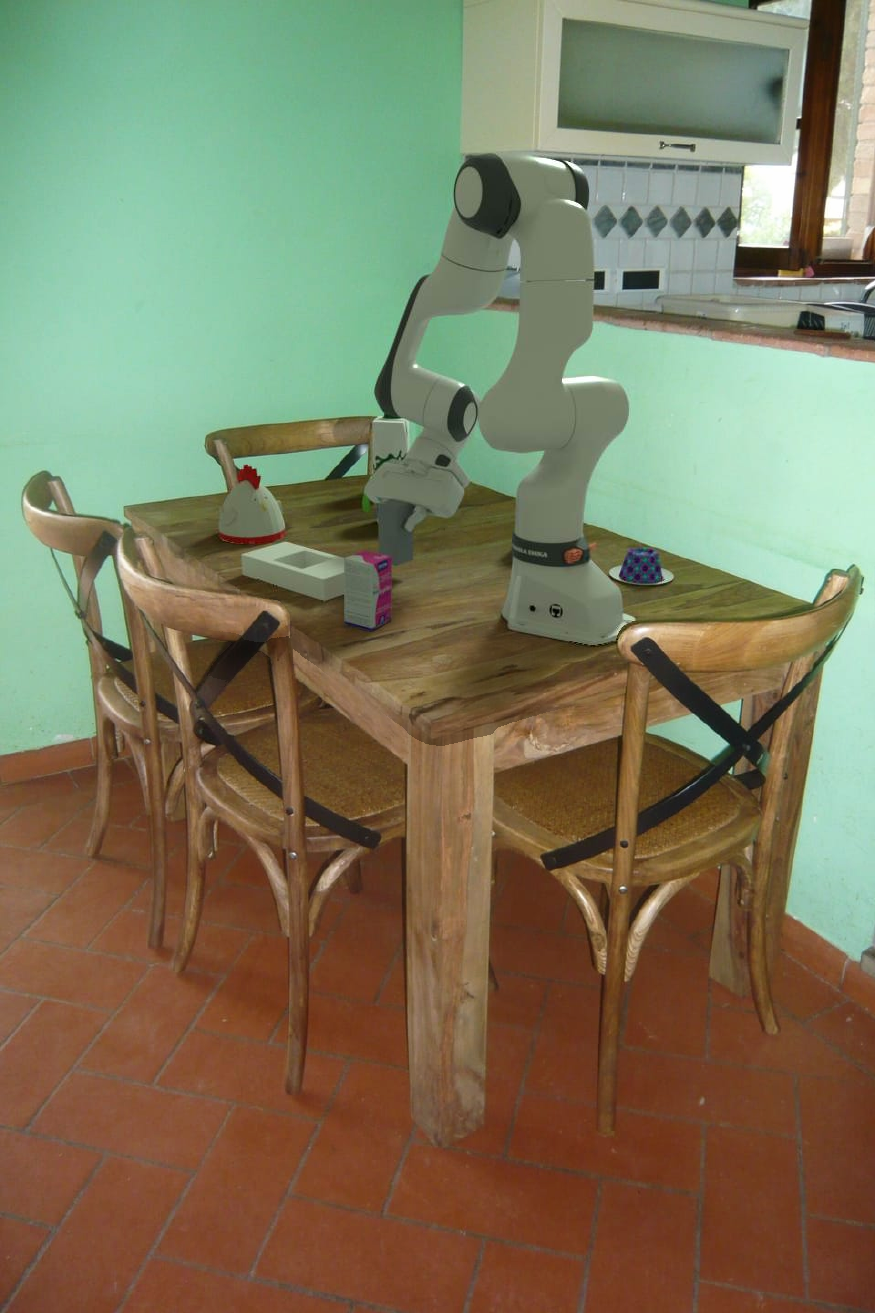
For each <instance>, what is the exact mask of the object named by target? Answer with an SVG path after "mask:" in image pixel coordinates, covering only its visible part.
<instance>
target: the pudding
mask: <svg viewBox="0 0 875 1313" xmlns="http://www.w3.org/2000/svg"><path fill="white" fill-rule="evenodd" d="M608 574H609V576H611V577H612V578H613V579H615V580H618V581H619V582H623V583H627V584H633V585H638V586H651V585H652V586H653V585H661V584H666V583H669V582H671V581H673V579H674V574H673V573H672V572H671V571H669V570H668V569H665V568H663V567H662V566H661V559H660V554H659V552H658V551H657V550H655V549H653V548H649V547H632V548H630V549H628V550H627V552H626V554H625V556H624V559H623V563H622V565H621V564H620V565H617V566H615V567H612V568H610V570H609V571H608ZM622 579H624V580H625V581H624V580H622ZM663 579H665V580H664V581H662V582H661V580H663ZM627 581H628V582H627ZM655 582H656V583H655Z"/></svg>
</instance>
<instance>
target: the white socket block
mask: <svg viewBox="0 0 875 1313" xmlns="http://www.w3.org/2000/svg"><path fill="white" fill-rule="evenodd" d="M240 557H241V558H240V559H241V570H242V571H241V572H242V576H245V577H248V578H251V579H255V580H257V579H260V580H263V581H266V582H265V583H267V582H269V583H268V584H270V583H271V584H270V585H273V584H274V586H276V585H277V587H279V588H283V589H286V590H287V591H292V592H295V593H298V594H301V595H304V596H307V597H310V598H314V599H317V600H320V601H322V600H323V602H326V601H329V600H331V599H334V598H337V597H340V596H342V595H344V558H345V557H342V556H338V555H335V554H332V553H327V552H324V551H320V550H316V549H313V548H309V547H306V546H303V545H299V544H295V543H291V542H288V541H282V542H280V543H275V544H272V545H270V546H264V547H262V548H258V549H256V550H250V551H249V552H245V553H241V554H240ZM260 580H259V581H260ZM263 581H262V582H263ZM325 600H326V601H325Z"/></svg>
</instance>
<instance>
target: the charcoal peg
mask: <svg viewBox="0 0 875 1313" xmlns="http://www.w3.org/2000/svg"><path fill="white" fill-rule="evenodd" d="M413 513H414V511H413V504H411V503H408V502H404V501H399V500H394V499H391V500H387V501H383V502H380V503H378V522H377V528H378V530H377V531H378V534H377V535H378V554H383V555H388V556H391V557H392V566H396V567H397V566H400V565H402V564H407V563H409V562H411V561H414V528H413V529H412V531H411V532H408V531H405V530H403V529H402V528H401V524H402V523H403V520H404V518H406V519H408V518H409V517H410V516H411V515H412V514H413Z"/></svg>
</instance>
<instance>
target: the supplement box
mask: <svg viewBox="0 0 875 1313" xmlns="http://www.w3.org/2000/svg"><path fill="white" fill-rule="evenodd" d="M343 558H344V594H343V595H344V596H343V598H344V603H343V604H344V605H343V606H344V607H343V608H344V611H343V612H344V618H343V619H344V621H343V622H344V625H345V624H346V625H345V626H348V625H350V626H349V627H353V626H354V627H355V628H357V629H361V630H365V631H369V632H372V631H375V630H376V629H378V628H379V627H381V626H384V625H385V624H387V623H386V622H388V621H390V622H391V621H392V573H393V572H392V566H393V565H392V557H391V556H388V555H383V554H379V552H378V553H377V552H373V551H369V550H363V551H362V550H361V551H360V552H357V553H354V554H352V555H349V556H346V557H343ZM384 623H385V624H384ZM388 623H389V622H388Z"/></svg>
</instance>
